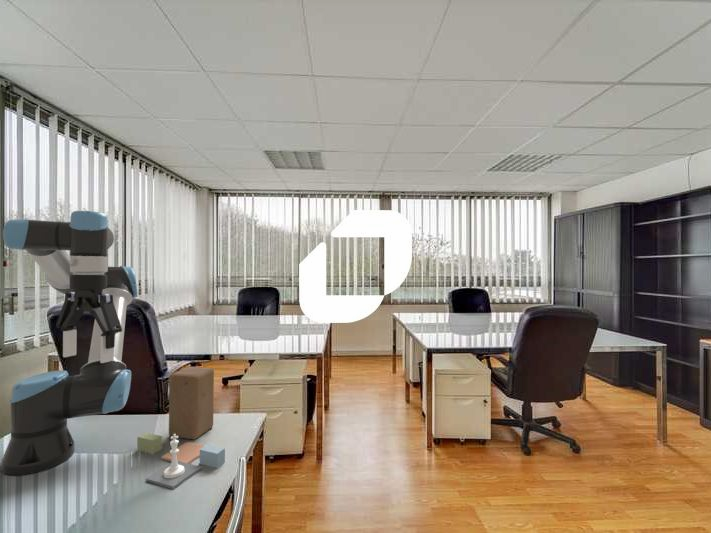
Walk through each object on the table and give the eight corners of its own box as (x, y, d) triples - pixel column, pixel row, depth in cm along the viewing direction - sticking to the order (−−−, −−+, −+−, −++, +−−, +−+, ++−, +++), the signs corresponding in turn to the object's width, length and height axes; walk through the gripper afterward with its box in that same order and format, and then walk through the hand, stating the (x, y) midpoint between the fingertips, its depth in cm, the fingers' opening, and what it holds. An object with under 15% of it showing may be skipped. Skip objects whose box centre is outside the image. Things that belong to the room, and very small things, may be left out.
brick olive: (137, 450, 104) (137, 436, 104) (146, 445, 107) (146, 432, 107) (152, 454, 102) (152, 440, 102) (161, 449, 105) (161, 435, 105)
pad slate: (146, 480, 89) (146, 478, 89) (175, 462, 98) (175, 460, 98) (173, 489, 86) (173, 486, 86) (201, 469, 95) (201, 467, 95)
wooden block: (195, 441, 110) (196, 376, 110) (167, 437, 112) (168, 374, 112) (214, 426, 120) (215, 367, 120) (188, 423, 122) (189, 365, 122)
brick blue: (199, 464, 98) (199, 449, 98) (207, 458, 100) (207, 444, 100) (217, 468, 96) (217, 453, 96) (224, 462, 98) (224, 448, 98)
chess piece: (183, 476, 90) (183, 437, 90) (161, 479, 89) (161, 440, 89) (186, 466, 95) (186, 428, 95) (165, 469, 94) (165, 431, 94)
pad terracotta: (161, 458, 100) (161, 456, 100) (186, 443, 108) (186, 441, 108) (186, 465, 97) (186, 463, 97) (210, 449, 105) (210, 447, 105)
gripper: (39, 272, 89) (38, 357, 89) (109, 275, 81) (108, 368, 81) (71, 272, 96) (70, 350, 96) (139, 274, 88) (138, 360, 88)
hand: (87, 358), depth 89 cm, fingers open, 13 cm apart
